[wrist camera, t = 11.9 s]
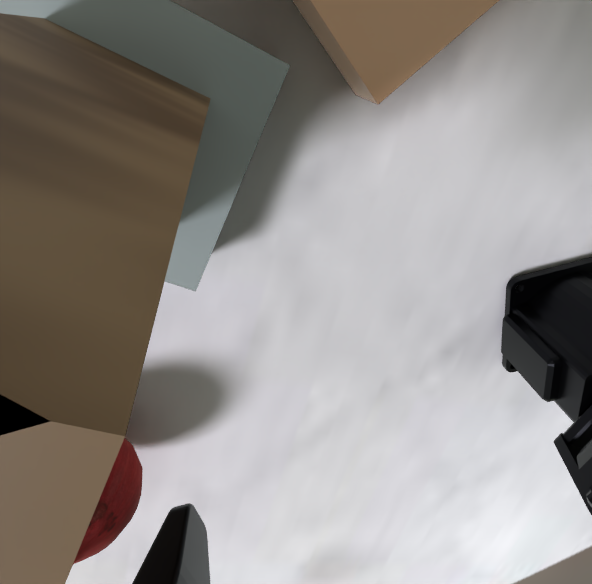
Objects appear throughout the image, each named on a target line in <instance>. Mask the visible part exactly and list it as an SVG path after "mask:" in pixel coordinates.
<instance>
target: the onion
mask: <svg viewBox="0 0 592 584" xmlns="http://www.w3.org/2000/svg"><path fill="white" fill-rule="evenodd" d="M141 489H142V466H141V463H140V461H139V459H138V456H137V454H136V452H135V449H134V447H133V445H132V444H131V443H130V442H129V441H127V440H126V439H125V438H124V440H123V443H122V445H121V448H120V450H119V453H118V455H117V457H116V460H115V462H114V465H113V467H112V470H111V472H110V475H109V477H108V479H107V482H106V484H105V487H104V489H103V492H102V494H101V497H100V499H99V502H98V504H97V506H96V509H95V511H94V514H93V516H92V519H91V521H90V524H89V526H88V528H87V531H86V533H85V536H84V538H83V541H82V543H81V546H80V548H79V550H78V553H77V555H76V558H75V560H74V563H77V562H80V561H82V560H84V559H86V558H88V557H91V556H93V555H95V554H97V553H99V552H100V551H102V550H103V549H105V548H106V547H107V546H108V545H110V544H111V543H112V542H113V541H114V540H115V539H116V538H117V536H118V535H119V534H120V533H121V532H122V530H123V529H124V528H125V527H126V525H127V524H128V523H129V522H130V520H131V519H132V517H133V515H134V513H135V511H136V509H137V506H138V503H139V500H140V496H141ZM74 563H73V564H74Z"/></svg>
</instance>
